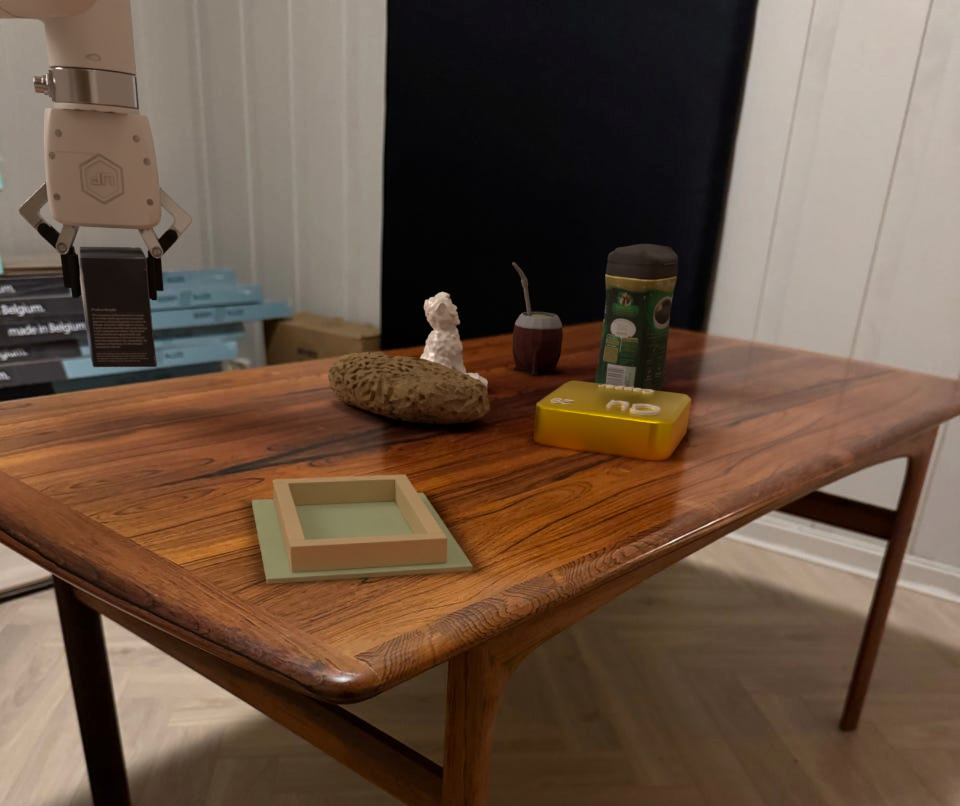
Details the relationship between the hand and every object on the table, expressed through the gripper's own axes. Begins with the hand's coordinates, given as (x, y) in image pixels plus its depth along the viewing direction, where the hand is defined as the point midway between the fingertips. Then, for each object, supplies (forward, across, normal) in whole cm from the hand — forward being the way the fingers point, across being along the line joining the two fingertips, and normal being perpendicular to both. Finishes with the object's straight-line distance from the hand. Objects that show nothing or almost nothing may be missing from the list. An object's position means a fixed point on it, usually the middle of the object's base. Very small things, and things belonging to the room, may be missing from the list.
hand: (115, 296), depth 97 cm
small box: (+6, 0, 0) cm, 6 cm away
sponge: (+13, +31, +1) cm, 33 cm away
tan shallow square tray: (+13, +19, -36) cm, 43 cm away
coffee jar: (+12, +63, +11) cm, 65 cm away
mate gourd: (+12, +54, +24) cm, 60 cm away
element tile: (+12, +52, -10) cm, 54 cm away
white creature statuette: (+12, +39, +15) cm, 43 cm away
